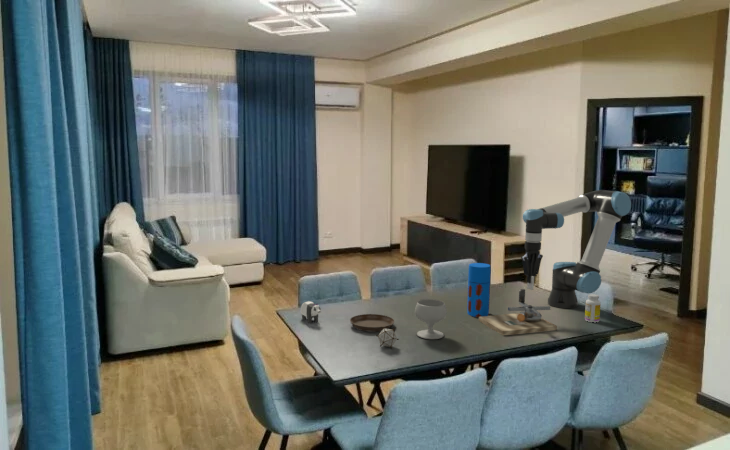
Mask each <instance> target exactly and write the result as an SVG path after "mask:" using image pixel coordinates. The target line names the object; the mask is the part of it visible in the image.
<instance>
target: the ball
mask: <svg viewBox="0 0 730 450" xmlns="http://www.w3.org/2000/svg"><path fill="white" fill-rule="evenodd" d="M517 319H518V321H524V319H525V316H524V315H523V314H518V315H517Z"/></svg>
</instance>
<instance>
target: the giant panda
mask: <svg viewBox="0 0 730 450" xmlns="http://www.w3.org/2000/svg"><path fill="white" fill-rule="evenodd" d="M321 310H322V308H321V306H319V303H316V304H315V303H314V302H313V301H305V302H303V303H302V304H301V306H300V315H301V319H302V320H303V321H306V319H307V323H308V324H312V323H313V322H315V323H318V321H319V315H320V313H322V311H321ZM312 320H313V321H312Z"/></svg>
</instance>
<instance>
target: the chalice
mask: <svg viewBox="0 0 730 450" xmlns="http://www.w3.org/2000/svg"><path fill="white" fill-rule="evenodd" d="M447 313H448V310H447V305H446V304H445V302H444V301H443V300H439V299H435V298H425V299H420V300H418V301H417V302H416V305H415V308H414V314H415V317H416V318H417V319H419V320H420V321H422V322H423V323H425V325H427V327H428V329H422V330H418V331H417V332H416V336H417V337H419V338H422V339H426V340H438V339H442V338H443V337H445V333H443V332H442V331H439V330H436V329H434V325H436V324H438V323H439V322H442V321H443V320H445V319H446V317H447V315H448V314H447Z"/></svg>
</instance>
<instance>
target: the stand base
mask: <svg viewBox="0 0 730 450" xmlns="http://www.w3.org/2000/svg"><path fill="white" fill-rule="evenodd" d="M518 314H520V312H517V313H506V314H496V315H495V314H494V315H488V316H481V317H478V322H480V323H482V324H483V325H485V326H487V327H488V328H489V329H491V330H493V331H495V332H497V333H498V334H499V335H501V336H511V335H522V334H523V335H524V334H531V333H541V332H550V331H557V330H558V325H556V324H554V323H552V322H550V321H548V320H546V319H544V318H542V317H541V320H540V321H537V322H531V321H525V320H524V321H518V319H517V315H518Z"/></svg>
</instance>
